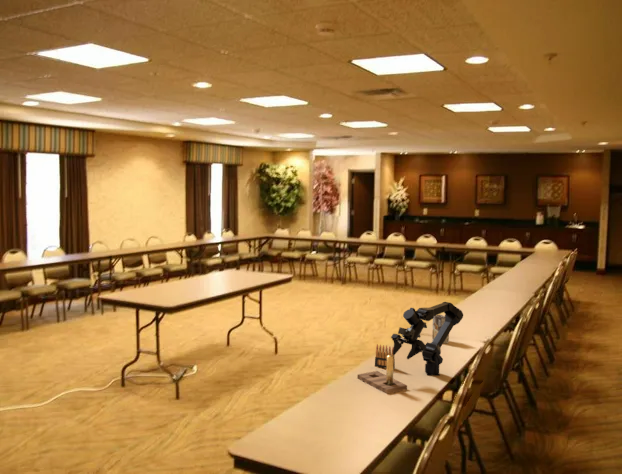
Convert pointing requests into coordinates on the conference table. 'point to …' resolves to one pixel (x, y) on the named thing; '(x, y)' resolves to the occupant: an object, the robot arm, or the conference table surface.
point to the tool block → (381, 382)
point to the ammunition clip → (383, 357)
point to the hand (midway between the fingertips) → (400, 356)
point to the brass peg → (389, 370)
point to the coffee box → (438, 326)
